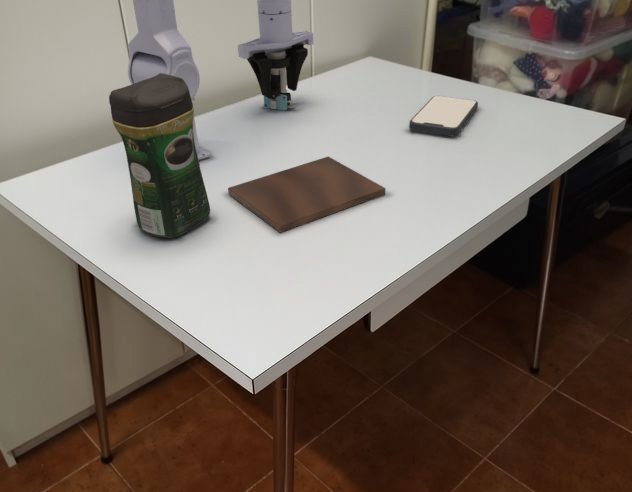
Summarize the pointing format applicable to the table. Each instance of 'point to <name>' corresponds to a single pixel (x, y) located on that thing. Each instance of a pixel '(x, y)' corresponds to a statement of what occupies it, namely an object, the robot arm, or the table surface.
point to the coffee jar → (161, 154)
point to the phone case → (443, 115)
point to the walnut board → (305, 193)
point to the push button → (278, 82)
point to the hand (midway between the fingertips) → (279, 92)
